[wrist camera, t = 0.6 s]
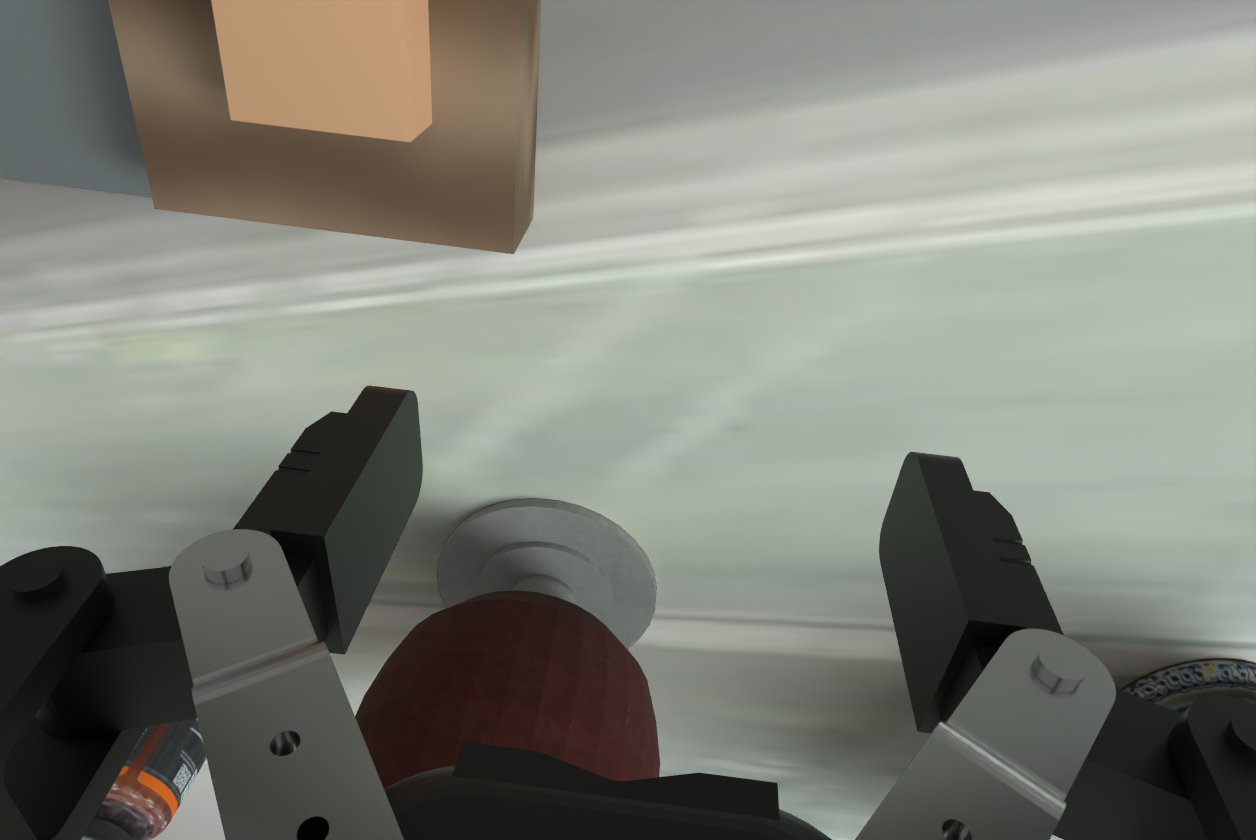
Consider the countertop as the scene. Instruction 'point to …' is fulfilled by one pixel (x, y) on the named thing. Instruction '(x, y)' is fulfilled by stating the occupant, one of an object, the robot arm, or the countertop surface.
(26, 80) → the slate mat
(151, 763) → the supplement bottle
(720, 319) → the countertop surface
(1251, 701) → the decorative vase
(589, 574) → the mate gourd
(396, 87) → the tan rectangular block
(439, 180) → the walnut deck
